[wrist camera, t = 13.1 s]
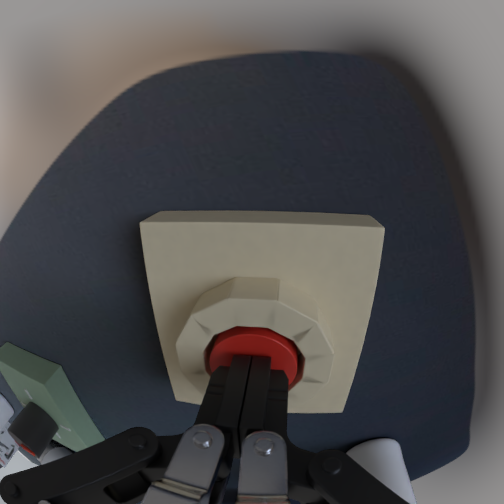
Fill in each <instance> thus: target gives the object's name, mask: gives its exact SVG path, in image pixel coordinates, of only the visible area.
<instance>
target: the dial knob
mask: <svg viewBox="0 0 504 504" xmlns="http://www.w3.org/2000/svg"><path fill="white" fill-rule="evenodd" d="M58 430H59V427H58V425H57V424H56V422H55V421H54V420H53V419H52V418H51V417H50V416H49V415H48V414H47V413H46V412H45V411H44V410H43V409H42V408H41V407H39V406H38V405H36V404H35V403H33V402H28V404H27V405H26V406H25V407H24V409H23V410H22V411H21V412H20V414H19V415H18V416H17V417H16V419H15V420H14V421H13V422H12V424H11V425H10V426H9V428H8V429H7V431H8V433H9V434H10V435H11V437H12V438H13V439H14V440H15V441H16V442H17V443H18V444H19V445H20V446H21V447H22V448H23V449H25V450H26V451H27V452H29V453H30V454H31V455H33V456H34V457H36V458H38V459H39V458H40V457H41V455H42V453H43V452H44V450H45V449H46V447H47V446H48V444H49V443H50V441H51V440H52V438H53V437H54V435H55V434H56V432H57V431H58Z"/></svg>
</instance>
